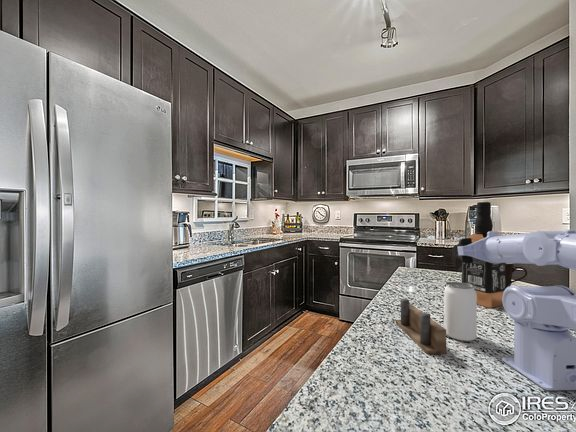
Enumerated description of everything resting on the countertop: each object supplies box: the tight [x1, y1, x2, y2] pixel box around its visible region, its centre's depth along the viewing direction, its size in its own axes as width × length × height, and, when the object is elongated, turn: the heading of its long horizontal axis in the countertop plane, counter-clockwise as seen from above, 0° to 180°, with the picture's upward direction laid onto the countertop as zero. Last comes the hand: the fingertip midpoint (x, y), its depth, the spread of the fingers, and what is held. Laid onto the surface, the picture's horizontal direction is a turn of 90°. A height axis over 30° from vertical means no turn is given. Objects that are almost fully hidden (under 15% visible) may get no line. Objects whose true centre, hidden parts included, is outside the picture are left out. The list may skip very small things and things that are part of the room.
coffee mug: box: [506, 263, 528, 288], centre depth 103 cm, size 12×9×10 cm
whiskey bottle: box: [461, 201, 506, 309], centre depth 90 cm, size 10×10×32 cm
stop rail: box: [395, 298, 447, 355], centre depth 65 cm, size 16×4×7 cm, turn 1°
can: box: [443, 281, 478, 342], centre depth 66 cm, size 6×6×12 cm
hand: (469, 250), depth 70 cm, fingers open, 7 cm apart
